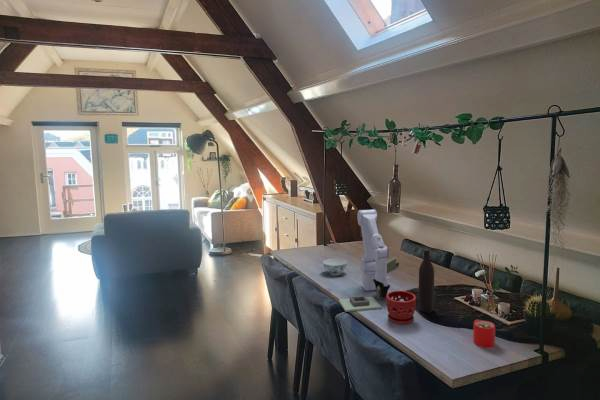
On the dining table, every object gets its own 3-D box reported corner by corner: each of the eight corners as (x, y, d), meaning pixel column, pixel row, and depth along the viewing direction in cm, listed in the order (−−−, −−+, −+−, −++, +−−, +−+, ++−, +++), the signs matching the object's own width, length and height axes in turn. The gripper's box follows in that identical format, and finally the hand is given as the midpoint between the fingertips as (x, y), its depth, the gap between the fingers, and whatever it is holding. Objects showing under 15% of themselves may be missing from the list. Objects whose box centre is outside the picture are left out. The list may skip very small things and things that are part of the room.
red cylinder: (482, 333, 175) (482, 315, 174) (498, 346, 164) (499, 327, 162) (464, 334, 175) (464, 316, 173) (479, 348, 163) (480, 329, 162)
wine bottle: (433, 308, 203) (433, 248, 199) (434, 313, 196) (435, 251, 192) (418, 307, 204) (418, 247, 200) (419, 313, 198) (419, 251, 194)
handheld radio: (377, 274, 257) (395, 264, 276) (382, 275, 255) (400, 265, 274) (378, 264, 256) (396, 255, 275) (383, 265, 254) (400, 256, 273)
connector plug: (376, 296, 220) (376, 285, 220) (383, 296, 221) (383, 285, 220) (378, 299, 216) (378, 288, 216) (386, 298, 217) (386, 287, 216)
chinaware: (352, 272, 261) (351, 261, 260) (337, 279, 250) (337, 266, 249) (333, 268, 271) (332, 257, 270) (318, 274, 260) (318, 262, 259)
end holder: (338, 301, 215) (338, 295, 215) (372, 298, 218) (372, 292, 218) (345, 311, 202) (345, 306, 201) (381, 308, 204) (381, 302, 204)
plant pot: (380, 318, 193) (380, 294, 191) (401, 312, 199) (401, 288, 197) (400, 329, 181) (400, 303, 180) (422, 322, 188) (422, 296, 186)
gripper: (393, 273, 210) (393, 299, 212) (383, 265, 224) (383, 289, 226) (380, 274, 209) (380, 300, 211) (371, 266, 223) (371, 290, 225)
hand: (381, 295), depth 218 cm, fingers open, 7 cm apart
